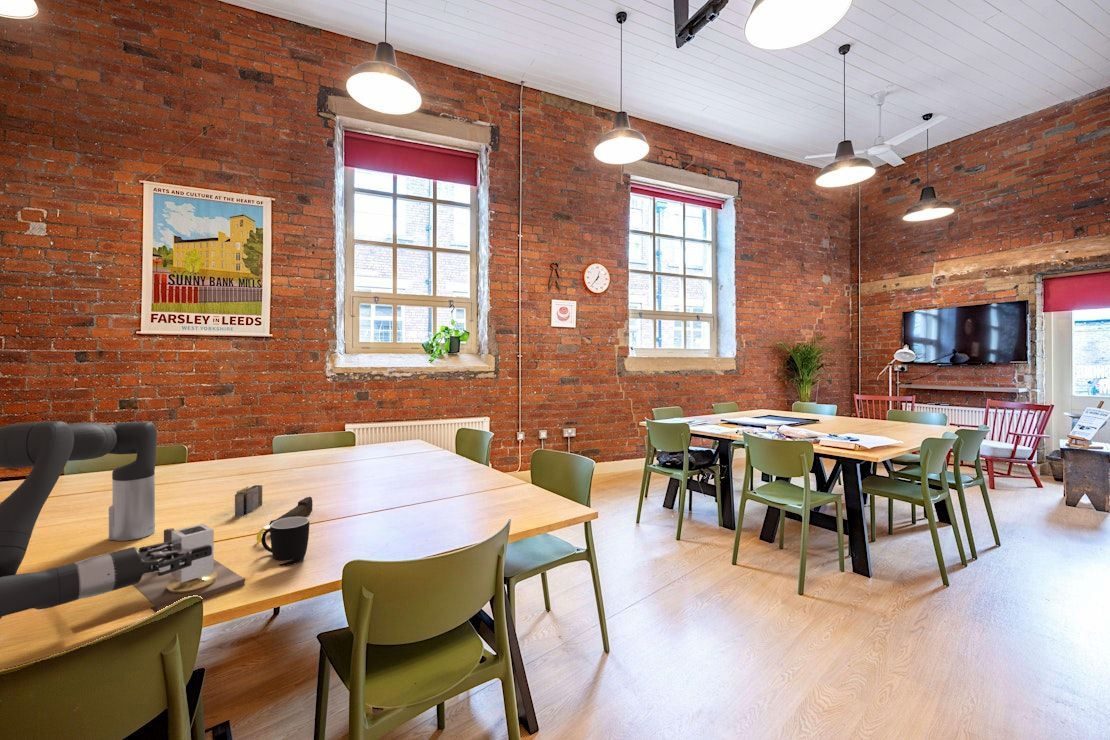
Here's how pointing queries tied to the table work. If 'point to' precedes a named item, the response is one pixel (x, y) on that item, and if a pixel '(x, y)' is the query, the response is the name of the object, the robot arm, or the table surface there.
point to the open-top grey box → (190, 541)
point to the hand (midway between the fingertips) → (205, 546)
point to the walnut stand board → (160, 597)
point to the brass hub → (191, 584)
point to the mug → (288, 539)
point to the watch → (261, 532)
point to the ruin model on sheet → (248, 499)
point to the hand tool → (299, 509)
